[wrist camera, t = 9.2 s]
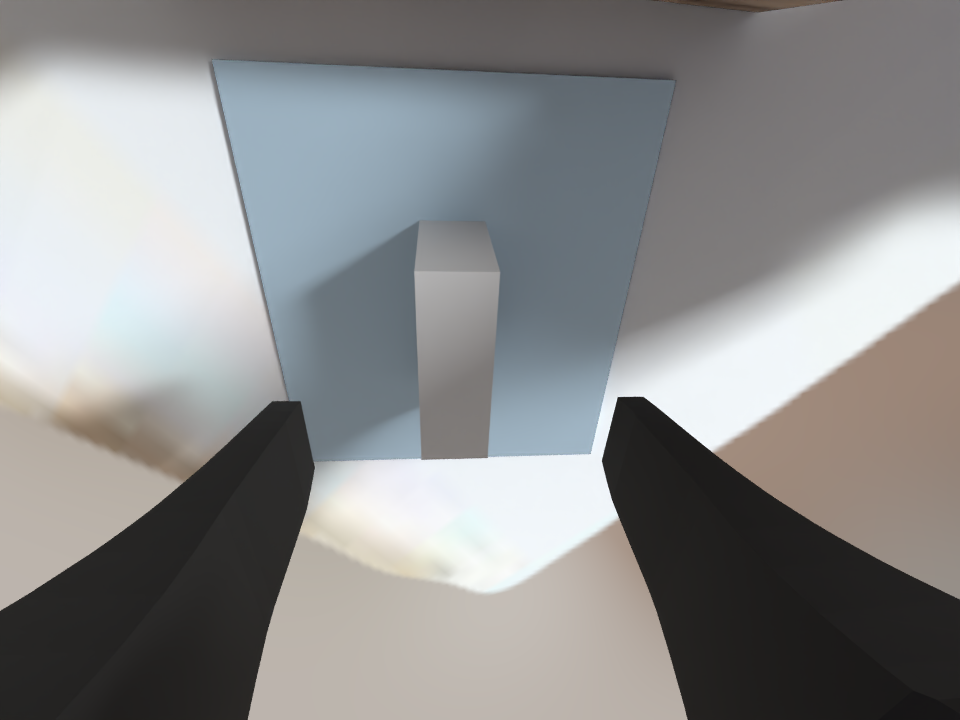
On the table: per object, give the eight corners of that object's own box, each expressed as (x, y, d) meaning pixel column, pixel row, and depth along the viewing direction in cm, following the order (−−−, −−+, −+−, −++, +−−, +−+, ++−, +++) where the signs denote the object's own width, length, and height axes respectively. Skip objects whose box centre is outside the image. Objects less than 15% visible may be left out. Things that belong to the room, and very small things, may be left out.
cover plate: (664, 79, 13) (762, 89, 9) (585, 441, 21) (621, 533, 17) (224, 59, 12) (120, 60, 8) (307, 447, 20) (274, 547, 16)
